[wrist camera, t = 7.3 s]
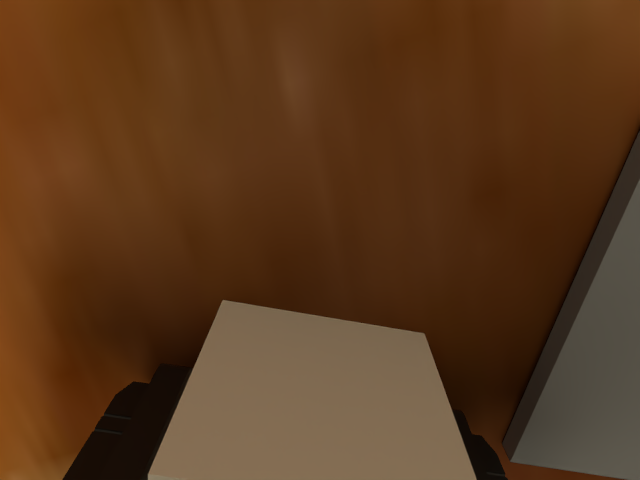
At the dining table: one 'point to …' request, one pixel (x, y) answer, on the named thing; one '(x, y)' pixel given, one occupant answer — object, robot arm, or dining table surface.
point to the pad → (592, 356)
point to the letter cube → (311, 404)
